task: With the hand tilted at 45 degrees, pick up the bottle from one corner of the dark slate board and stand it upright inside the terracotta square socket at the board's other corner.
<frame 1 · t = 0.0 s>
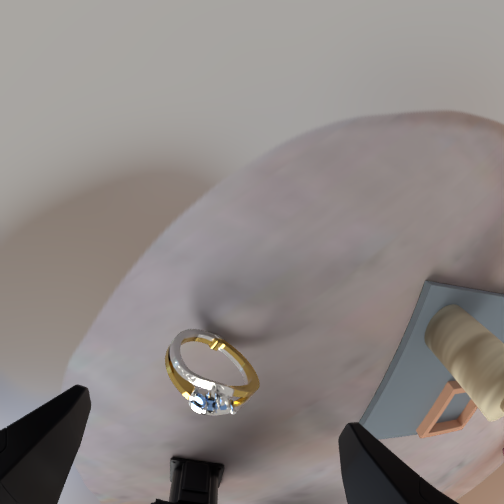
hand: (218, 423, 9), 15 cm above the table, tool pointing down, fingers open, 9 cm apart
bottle: (445, 327, 25), point 1 cm above the table, touching board
board: (447, 370, 28), on the table
ring: (216, 337, 25), on the table
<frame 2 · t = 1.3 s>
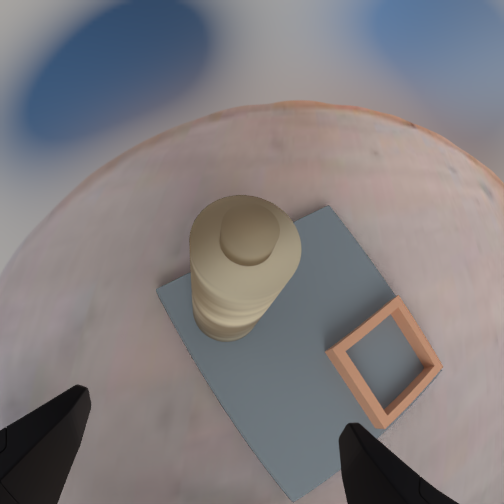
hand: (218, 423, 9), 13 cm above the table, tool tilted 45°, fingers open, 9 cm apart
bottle: (225, 309, 23), point 1 cm above the table, touching board
board: (315, 344, 24), on the table
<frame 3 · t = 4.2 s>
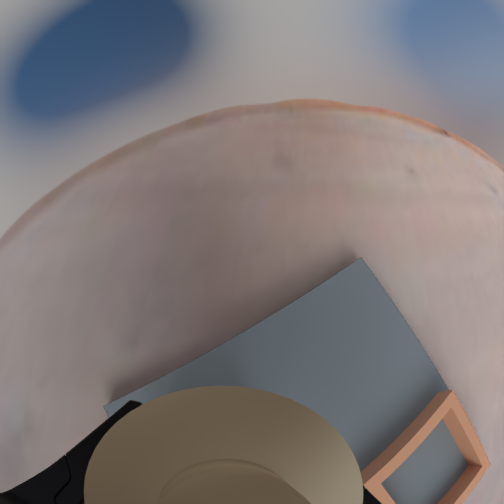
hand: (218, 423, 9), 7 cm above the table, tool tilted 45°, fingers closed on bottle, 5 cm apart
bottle: (208, 439, 13), point 1 cm above the table, touching board, gripper
board: (337, 465, 14), on the table
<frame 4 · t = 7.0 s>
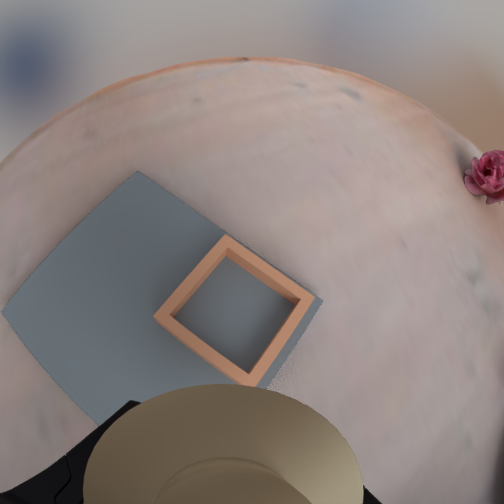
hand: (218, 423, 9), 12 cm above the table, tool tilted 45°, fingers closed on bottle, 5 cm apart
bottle: (208, 438, 13), point 7 cm above the table, touching gripper
board: (149, 316, 22), on the table
flower: (479, 190, 38), on the table
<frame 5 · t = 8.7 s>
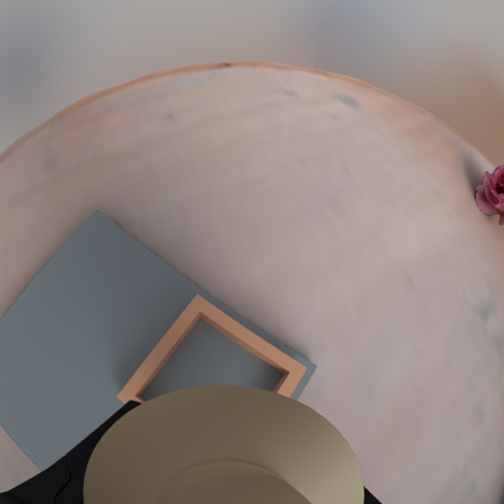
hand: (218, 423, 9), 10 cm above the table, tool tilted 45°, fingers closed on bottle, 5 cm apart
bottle: (208, 439, 13), point 5 cm above the table, touching gripper
board: (116, 387, 17), on the table
flower: (490, 208, 34), on the table
when the fingers open (9 cm above the table, at t = 9.9 s): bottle drops 2 cm, resting on board.
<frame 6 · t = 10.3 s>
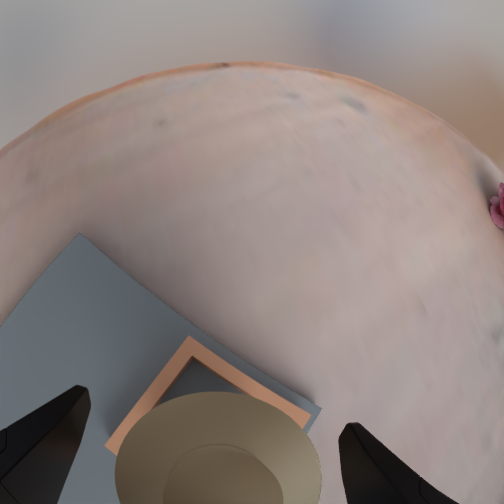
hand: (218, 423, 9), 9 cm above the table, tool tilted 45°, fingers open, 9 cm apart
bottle: (207, 435, 15), point 1 cm above the table, touching board
board: (105, 429, 15), on the table
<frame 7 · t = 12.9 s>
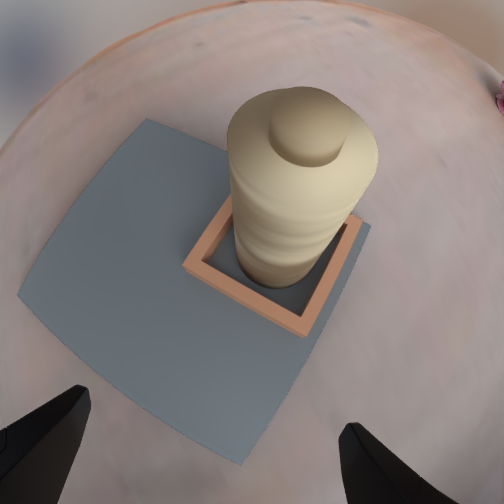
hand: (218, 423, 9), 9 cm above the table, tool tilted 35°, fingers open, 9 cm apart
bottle: (275, 250, 20), point 1 cm above the table, touching board
board: (179, 267, 20), on the table
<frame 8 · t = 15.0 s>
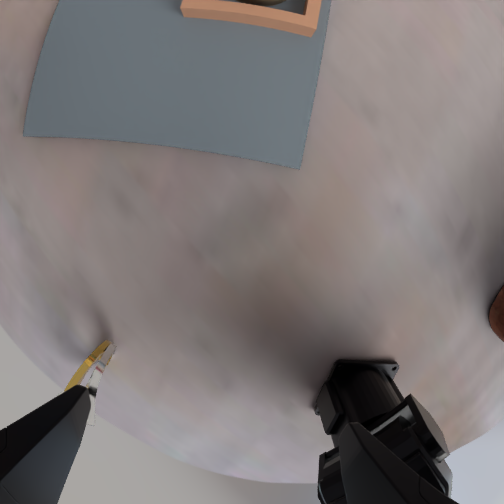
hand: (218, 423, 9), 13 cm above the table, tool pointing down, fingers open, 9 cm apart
board: (174, 21, 16), on the table
ring: (108, 352, 23), on the table
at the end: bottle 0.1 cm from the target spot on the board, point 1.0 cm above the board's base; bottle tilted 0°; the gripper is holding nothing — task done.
